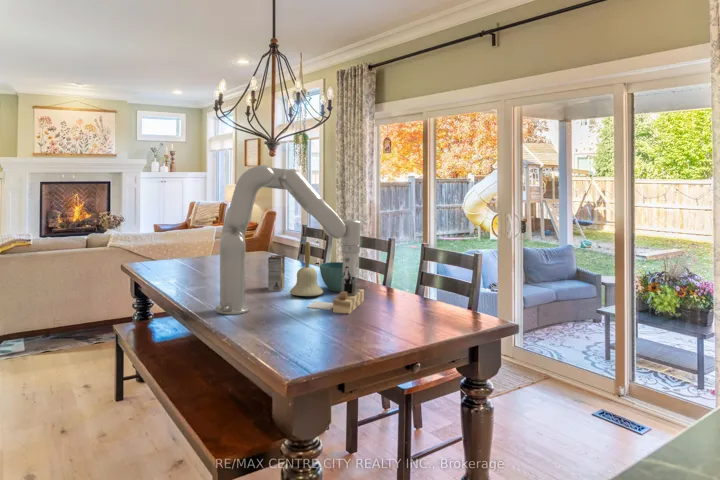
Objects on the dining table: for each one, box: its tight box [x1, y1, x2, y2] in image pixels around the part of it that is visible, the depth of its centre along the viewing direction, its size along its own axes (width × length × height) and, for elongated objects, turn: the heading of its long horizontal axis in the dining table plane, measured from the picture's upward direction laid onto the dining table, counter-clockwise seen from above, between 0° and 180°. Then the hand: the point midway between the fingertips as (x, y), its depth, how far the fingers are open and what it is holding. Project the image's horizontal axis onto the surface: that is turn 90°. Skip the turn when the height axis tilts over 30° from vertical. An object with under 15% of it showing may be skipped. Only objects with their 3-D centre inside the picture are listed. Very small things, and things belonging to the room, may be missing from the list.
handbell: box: [289, 241, 324, 297], centre depth 222 cm, size 15×15×25 cm
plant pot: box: [319, 261, 344, 293], centre depth 237 cm, size 18×18×12 cm
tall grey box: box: [341, 277, 359, 296], centre depth 206 cm, size 4×6×7 cm, turn 76°
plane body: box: [332, 283, 365, 315], centre depth 206 cm, size 24×7×8 cm, turn 166°
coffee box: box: [267, 254, 286, 292], centre depth 234 cm, size 9×6×16 cm
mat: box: [306, 301, 333, 311], centre depth 205 cm, size 10×10×1 cm
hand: (349, 291), depth 206 cm, fingers closed on tall grey box, 4 cm apart
